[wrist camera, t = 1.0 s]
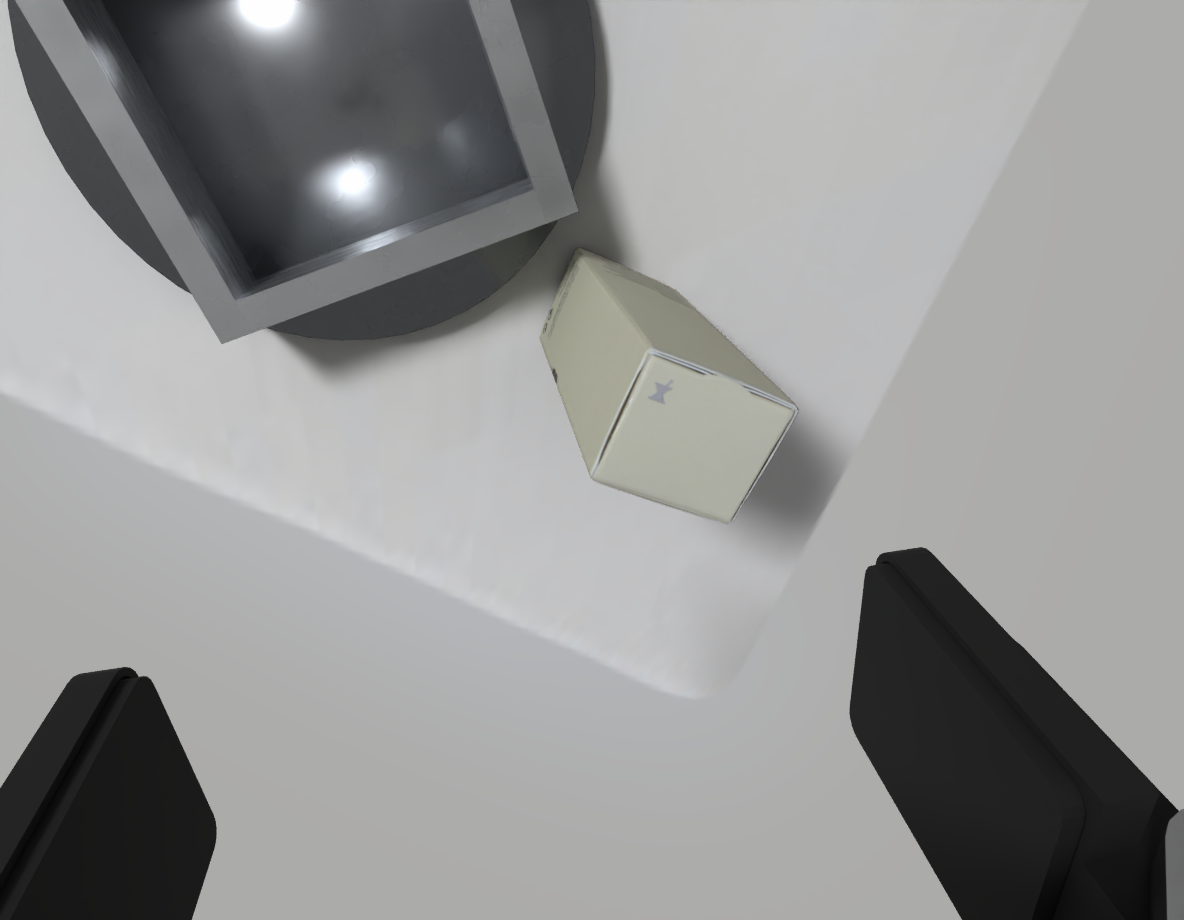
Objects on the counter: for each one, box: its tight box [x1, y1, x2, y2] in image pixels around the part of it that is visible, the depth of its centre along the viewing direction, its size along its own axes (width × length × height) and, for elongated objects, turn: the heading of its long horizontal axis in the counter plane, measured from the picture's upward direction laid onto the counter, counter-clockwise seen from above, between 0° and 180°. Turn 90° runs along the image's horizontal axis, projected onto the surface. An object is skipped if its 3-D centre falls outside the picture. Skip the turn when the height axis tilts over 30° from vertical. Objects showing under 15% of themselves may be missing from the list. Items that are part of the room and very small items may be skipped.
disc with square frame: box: [8, 0, 595, 344], centre depth 25 cm, size 19×22×4 cm
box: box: [540, 248, 799, 524], centre depth 27 cm, size 5×4×13 cm
